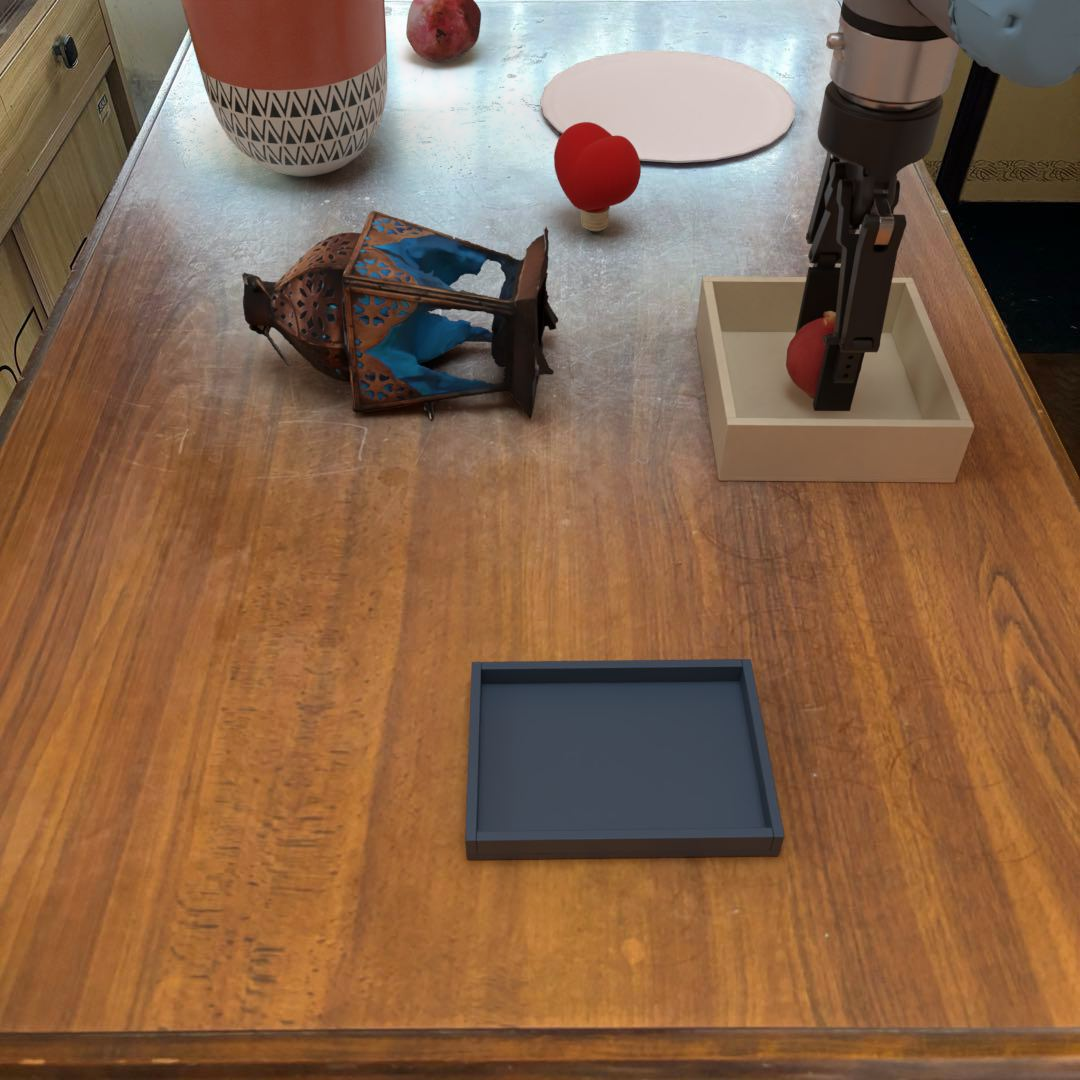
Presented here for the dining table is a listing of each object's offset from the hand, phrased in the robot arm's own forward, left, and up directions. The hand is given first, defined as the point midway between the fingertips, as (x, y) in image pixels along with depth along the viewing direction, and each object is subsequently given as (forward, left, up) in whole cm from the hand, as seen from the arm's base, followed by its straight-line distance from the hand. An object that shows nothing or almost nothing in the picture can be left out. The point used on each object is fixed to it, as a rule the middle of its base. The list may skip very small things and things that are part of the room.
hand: (821, 372), depth 87 cm
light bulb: (+30, -10, -3) cm, 32 cm away
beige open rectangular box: (0, 0, -3) cm, 3 cm away
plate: (+40, -37, -3) cm, 55 cm away
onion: (0, 0, -3) cm, 3 cm away
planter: (+62, -2, -3) cm, 62 cm away
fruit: (+70, -32, -3) cm, 77 cm away
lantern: (+28, +18, -3) cm, 33 cm away
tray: (-8, +38, -3) cm, 39 cm away
